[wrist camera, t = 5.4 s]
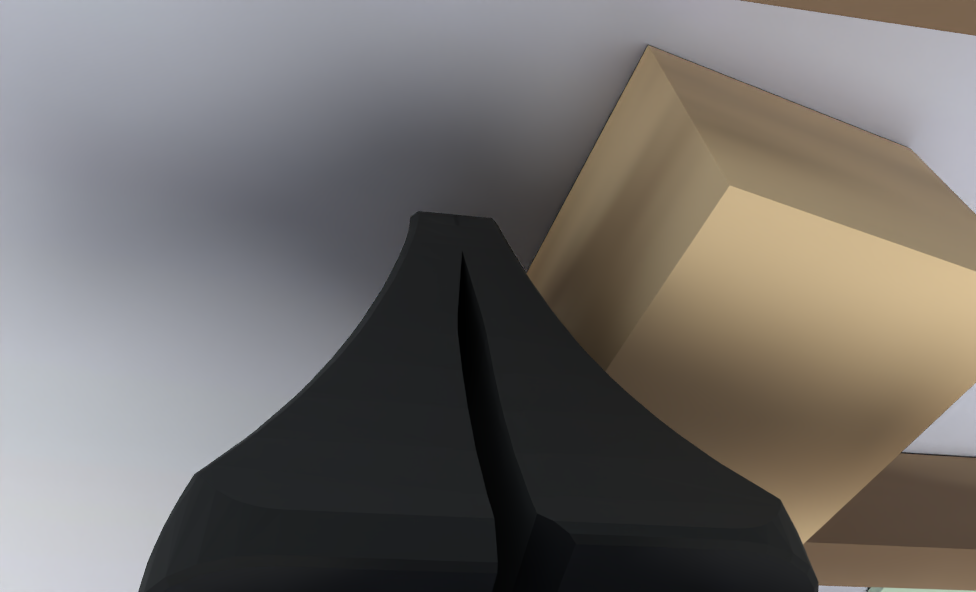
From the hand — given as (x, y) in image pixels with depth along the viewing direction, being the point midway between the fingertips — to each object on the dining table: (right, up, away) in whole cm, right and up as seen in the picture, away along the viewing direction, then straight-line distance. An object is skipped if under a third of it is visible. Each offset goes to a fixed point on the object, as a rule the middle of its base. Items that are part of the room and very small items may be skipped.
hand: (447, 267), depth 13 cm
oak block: (+4, 0, +2) cm, 4 cm away
